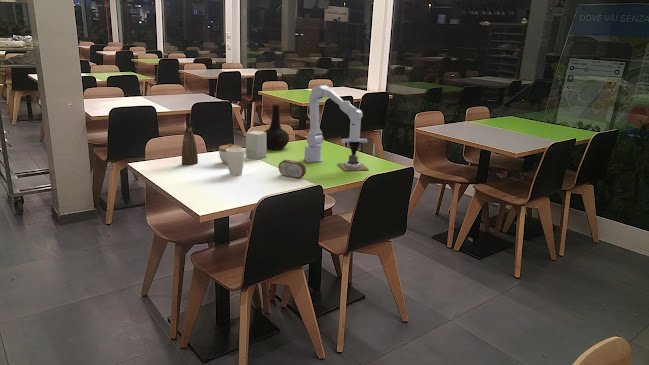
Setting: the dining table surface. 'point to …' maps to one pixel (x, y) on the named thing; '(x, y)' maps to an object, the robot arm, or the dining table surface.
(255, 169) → the dining table surface
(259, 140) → the supplement box
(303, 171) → the tin
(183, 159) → the statue
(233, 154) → the foam cup
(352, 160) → the dark grey cylinder peg
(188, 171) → the dining table surface
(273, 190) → the dining table surface
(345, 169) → the octagonal socket plate
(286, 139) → the dark vase
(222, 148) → the lidded bowl
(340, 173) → the dining table surface
